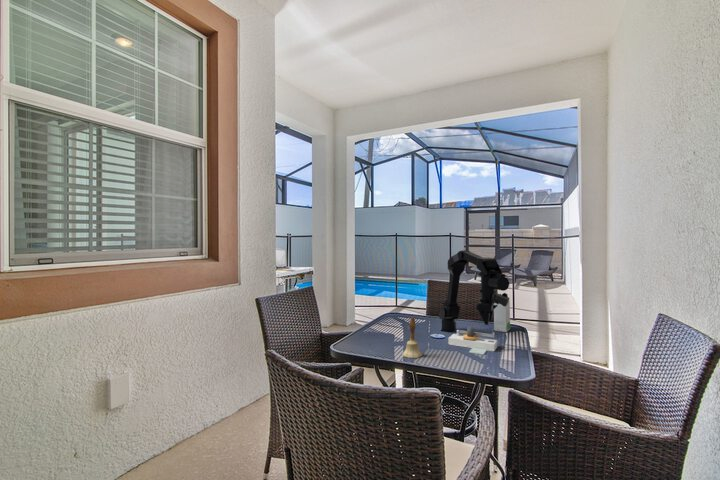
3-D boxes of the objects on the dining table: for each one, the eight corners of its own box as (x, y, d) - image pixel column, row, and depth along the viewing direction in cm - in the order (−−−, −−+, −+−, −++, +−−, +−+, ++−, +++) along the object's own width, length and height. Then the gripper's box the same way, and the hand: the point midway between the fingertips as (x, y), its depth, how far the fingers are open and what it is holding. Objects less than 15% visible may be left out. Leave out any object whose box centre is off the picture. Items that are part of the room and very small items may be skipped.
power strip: (448, 344, 162) (448, 335, 162) (453, 340, 168) (453, 331, 168) (494, 351, 151) (494, 341, 151) (497, 346, 158) (497, 337, 158)
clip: (456, 332, 165) (456, 327, 165) (457, 331, 167) (457, 327, 167) (494, 337, 156) (494, 332, 156) (494, 336, 158) (494, 331, 158)
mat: (469, 352, 150) (469, 351, 150) (472, 348, 155) (472, 347, 155) (483, 355, 147) (483, 354, 147) (486, 350, 152) (486, 349, 152)
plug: (461, 346, 159) (461, 328, 159) (465, 342, 165) (465, 325, 164) (475, 348, 156) (475, 330, 156) (479, 344, 161) (479, 327, 161)
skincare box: (506, 332, 180) (506, 302, 179) (493, 330, 184) (492, 300, 183) (510, 329, 186) (510, 299, 186) (497, 327, 190) (497, 298, 190)
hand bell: (405, 350, 154) (405, 314, 153) (424, 353, 150) (423, 316, 150) (400, 356, 146) (399, 318, 146) (419, 359, 143) (419, 320, 142)
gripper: (504, 291, 140) (504, 330, 140) (511, 285, 156) (511, 320, 156) (475, 289, 146) (475, 327, 146) (485, 284, 162) (485, 317, 162)
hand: (488, 323), depth 152 cm, fingers open, 6 cm apart
